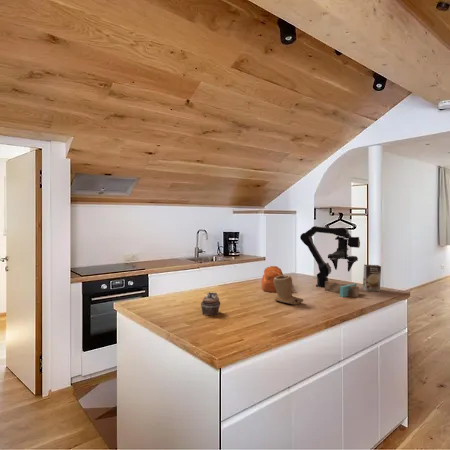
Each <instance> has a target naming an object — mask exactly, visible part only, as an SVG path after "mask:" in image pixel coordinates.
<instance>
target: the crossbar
mask: <svg viewBox="0 0 450 450" xmlns="http://www.w3.org/2000/svg"><path fill="white" fill-rule="evenodd" d="M350 286H357V283H350V284H347V285H345V286H341V287H340V294H339V297H341V298H346V297H348V291H350ZM357 287H358V286H357Z"/></svg>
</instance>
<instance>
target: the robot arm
mask: <svg viewBox="0 0 450 450" xmlns="http://www.w3.org/2000/svg"><path fill="white" fill-rule="evenodd" d="M317 233H323V234H332V235H335V236H336V237H335V238H334V240H337V247H336V250H335V251H334V252H333V253H329V254H328V255H327V259H329V261H331V262H332V264H333V268H334V270H338V262H339V260H340V259H341V260H347V262H346V263H347V272H348V273H349V272H350V271H351V269H352V267H353V265H354V264H355V263H356V262H358V260H359V258H358V256H357V255H349V254H348V250H349V248H357V249H359V248H360V247H361V241H360V237H359V236H352V235H351V234H350V233H349V229H348V228H347V227H344V226H343V227H326V226H325V227H324V226H316V225H314V226H312V227H311V228H309V229H307V230H306V232H303V233H301V234H300V240H301V241H302V243H303V244H304V245H306V247H307V248H308V251H310V253H311V255H312V257H313V258H314V260H315V262H316V263H317V265H318V270H319V272H318V273H317V274H316V278H317V280H316V281H317V283H316V284H315V287H318V288H319V287H320V288H323V289H325V281H329V278H328V277H329V275H330V274H331V273H332V267H331V266H330V264H329V262H325V261H324V259H323V257H322V255H321V254H320V252H319V250H318V249H317V247H316V245H315V244H314V240H313V236H314V235H315V234H317ZM348 247H349V248H348Z"/></svg>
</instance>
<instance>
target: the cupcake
mask: <svg viewBox="0 0 450 450" xmlns="http://www.w3.org/2000/svg"><path fill="white" fill-rule="evenodd" d="M218 295H219V294H218V293H217V292H207V293H206V296H204V297H203V299H202V302H200V307H201V311H202V312H201V313H202V315H204V314H205V315H204V316H208V315H212V316H217V315H218V314H219V312H220V311H219V309H220V306H221V301H220V298H219V297H218ZM216 314H217V315H216Z"/></svg>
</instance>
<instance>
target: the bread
mask: <svg viewBox="0 0 450 450" xmlns="http://www.w3.org/2000/svg"><path fill="white" fill-rule="evenodd" d="M281 275H284V274H283V271H282V269H281V268H280V267H279V266H275V265H270V266H267V267H265V268H264V270H263V275H262V278H261V289H262V291H264V292H267V293H268V292H269V293H277V291H276V288H275V285H274V278H275V277H277V276H281Z"/></svg>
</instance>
